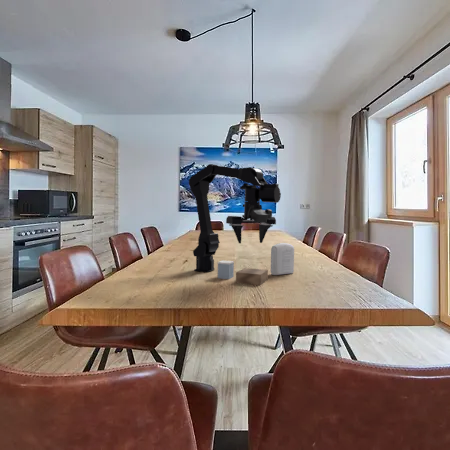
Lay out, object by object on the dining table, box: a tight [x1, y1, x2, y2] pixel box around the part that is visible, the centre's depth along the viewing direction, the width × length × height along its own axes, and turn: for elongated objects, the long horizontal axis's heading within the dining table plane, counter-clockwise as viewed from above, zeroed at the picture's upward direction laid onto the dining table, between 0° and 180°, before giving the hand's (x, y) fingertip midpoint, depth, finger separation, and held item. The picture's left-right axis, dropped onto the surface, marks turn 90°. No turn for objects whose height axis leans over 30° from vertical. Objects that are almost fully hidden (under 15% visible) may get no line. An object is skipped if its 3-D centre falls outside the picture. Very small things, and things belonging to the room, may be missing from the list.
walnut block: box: [235, 267, 269, 286], centre depth 121 cm, size 9×9×4 cm
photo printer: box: [270, 242, 295, 276], centre depth 135 cm, size 10×4×12 cm, turn 123°
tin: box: [217, 259, 235, 280], centre depth 127 cm, size 5×5×6 cm
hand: (250, 243), depth 128 cm, fingers open, 9 cm apart
